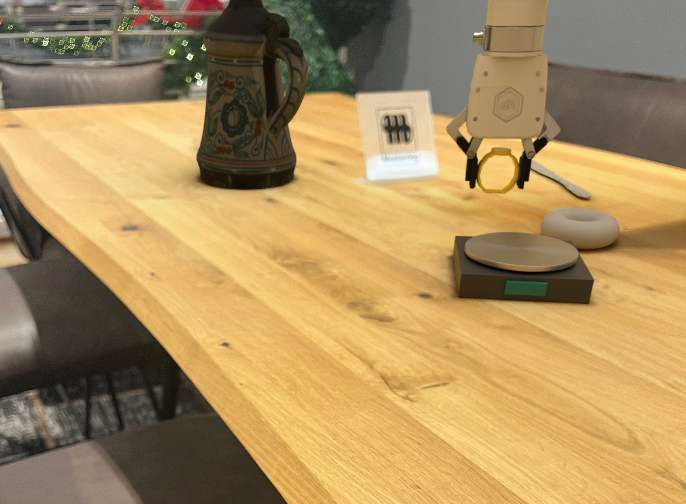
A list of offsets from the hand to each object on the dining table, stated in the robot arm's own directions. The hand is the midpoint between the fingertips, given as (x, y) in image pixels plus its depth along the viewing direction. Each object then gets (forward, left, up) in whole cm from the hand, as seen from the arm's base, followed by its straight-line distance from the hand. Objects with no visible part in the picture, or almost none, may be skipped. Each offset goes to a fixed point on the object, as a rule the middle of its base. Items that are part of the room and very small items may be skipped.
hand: (495, 185), depth 110 cm
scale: (0, +29, -4) cm, 29 cm away
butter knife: (-12, -22, -4) cm, 26 cm away
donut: (-10, +13, -4) cm, 17 cm away
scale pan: (0, +29, -1) cm, 29 cm away
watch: (0, 0, -1) cm, 1 cm away
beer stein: (+38, -15, -4) cm, 41 cm away
